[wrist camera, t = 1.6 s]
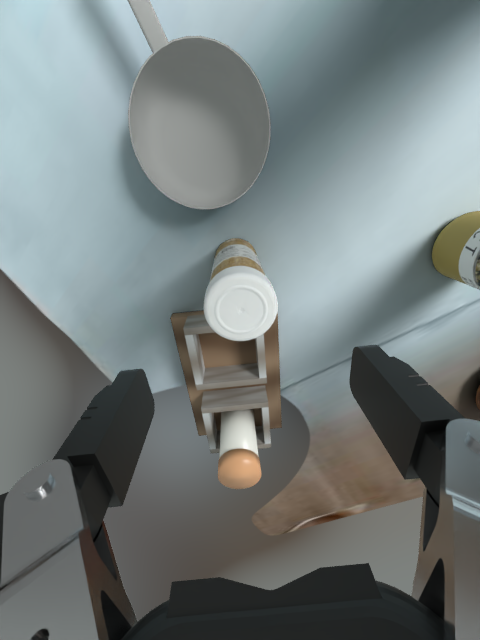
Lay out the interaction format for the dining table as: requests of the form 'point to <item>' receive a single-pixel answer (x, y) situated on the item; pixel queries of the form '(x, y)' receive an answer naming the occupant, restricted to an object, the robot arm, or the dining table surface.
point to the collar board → (229, 376)
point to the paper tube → (459, 250)
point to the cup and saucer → (478, 398)
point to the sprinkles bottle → (239, 293)
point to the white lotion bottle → (238, 450)
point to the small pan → (196, 117)
